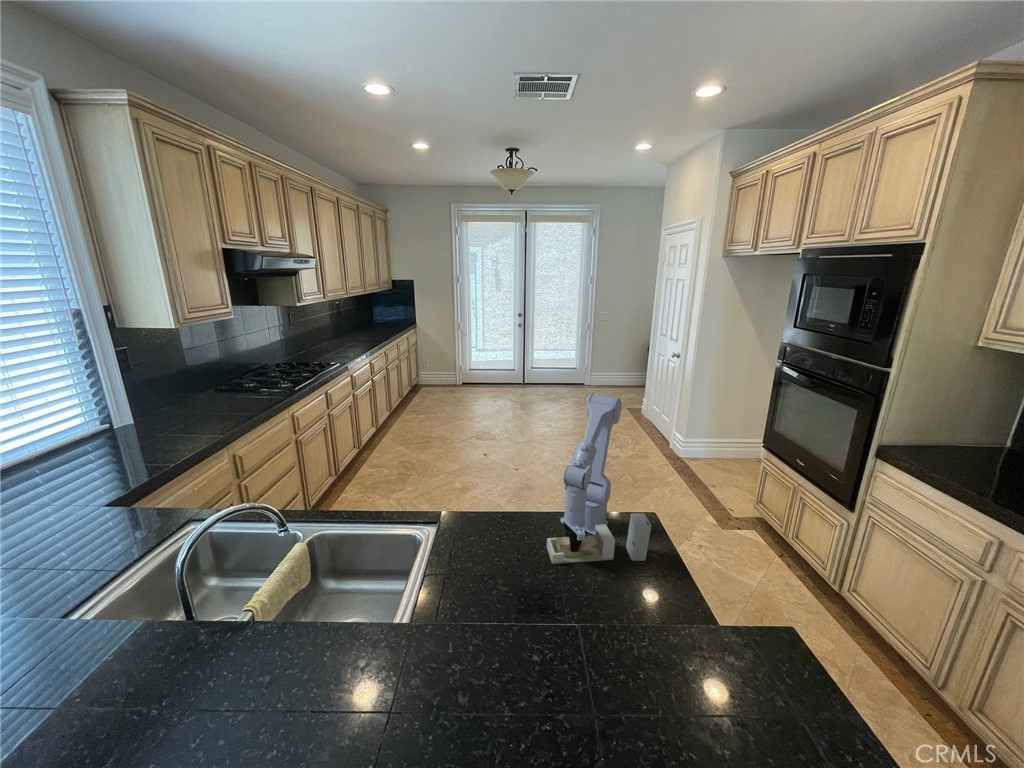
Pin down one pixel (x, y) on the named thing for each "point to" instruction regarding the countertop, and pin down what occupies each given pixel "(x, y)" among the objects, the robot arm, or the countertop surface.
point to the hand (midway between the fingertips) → (572, 546)
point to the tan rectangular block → (587, 546)
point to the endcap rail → (604, 554)
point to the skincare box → (638, 537)
